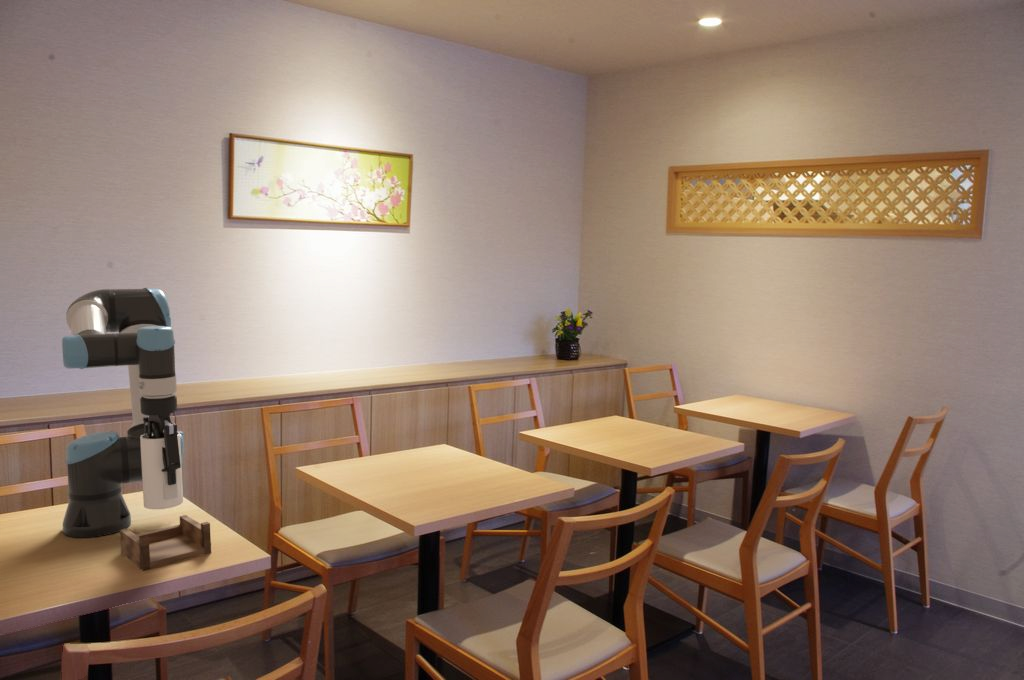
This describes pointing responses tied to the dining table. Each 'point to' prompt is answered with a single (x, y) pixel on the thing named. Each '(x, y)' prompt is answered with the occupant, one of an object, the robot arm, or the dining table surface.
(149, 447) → the cup
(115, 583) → the dining table surface
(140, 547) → the tray
